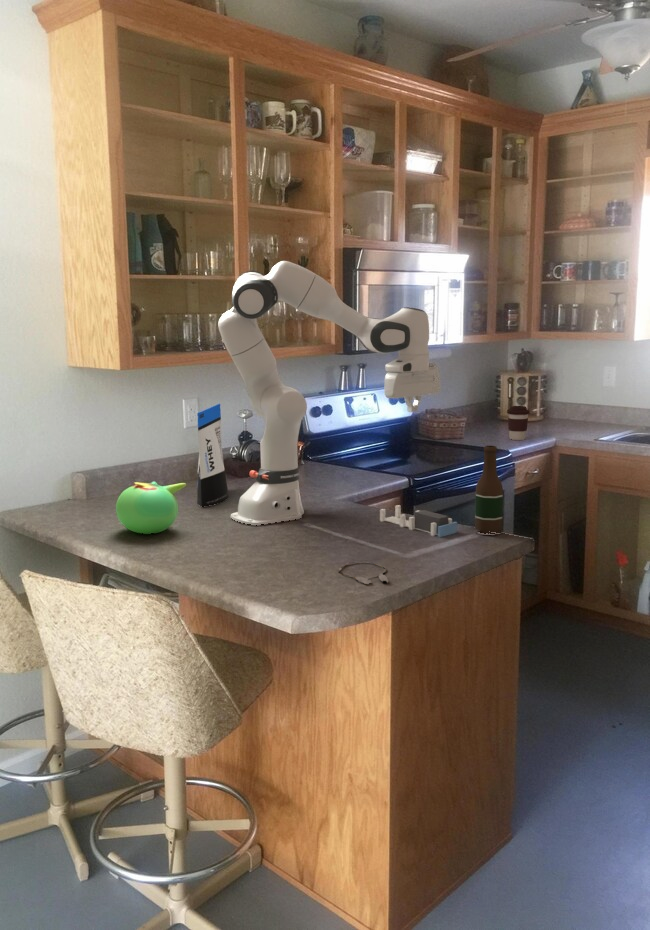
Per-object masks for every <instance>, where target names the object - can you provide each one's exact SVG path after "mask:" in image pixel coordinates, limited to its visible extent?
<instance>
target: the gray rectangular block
mask: <svg viewBox="0 0 650 930" xmlns="http://www.w3.org/2000/svg"><path fill="white" fill-rule="evenodd" d="M417 511H418V510H417ZM414 517H415V528H417V529H421V530H425V531H428V532H431V523H433V522H435V523H437V531H436V534H438V526H442V525H446V524H448V518H449V516H448V515H444V514H441V513H437V512H433V511H430V510H425V509H423V510H419V511H418V512H414ZM417 529H416V530H417ZM428 532H427V533H428Z"/></svg>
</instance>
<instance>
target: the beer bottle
mask: <svg viewBox="0 0 650 930" xmlns="http://www.w3.org/2000/svg"><path fill="white" fill-rule="evenodd" d="M497 447H498V446H497V445H496V446H495V445H485V446H483V451H484V457H483V466H482V467H483V469H482V473H481V476H480V477H479V478H478V480H477V483H476V486H475V502H474V505H475V508H474V512H475V514H474V525H475V526H474V529H475V530H476V531H477V530H478V531H477V532H480V533H484V534H486V533H488V534H489V533H490V534H495V533H491V532H496V533H501V534H502V532H503V507H504V506H503V505H504V504H503V503H504V487H503V484H502V481H501V479H500V477H499V476H498V470H497V466H498V465H497V451H498V448H497ZM489 531H490V532H489Z"/></svg>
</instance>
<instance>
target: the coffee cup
mask: <svg viewBox="0 0 650 930" xmlns="http://www.w3.org/2000/svg"><path fill="white" fill-rule="evenodd" d="M506 413H507V414H508V417H507V423H508V425H507V426H508V438H509V440H511V439H512V441H525V440H526V436H527V429H528V423H529V415H530V410H529V409H528V408H527V407H526V406H525V405H524V406H523V405H512V406H510V408H508V409H507V410H506ZM524 439H525V440H524Z"/></svg>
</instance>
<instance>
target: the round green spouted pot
mask: <svg viewBox="0 0 650 930" xmlns="http://www.w3.org/2000/svg"><path fill="white" fill-rule="evenodd" d="M133 483H134V484H135V485H131V486H129V487H127V488H126V489H124V490H123V491H122V492H121V493H120V495H119V496H118V499H117V500H116V503H115V513H116V517H117V518H118V521H119V522H120V524H121V525H123V526H124V528H126V529H128V530H130V531H131V532H134V533H137V534H142V533H143V535H152V534H151V533H154V534H158V533H160V532H163V531H166V530H167V529H169V528H170V527H171V526H172V525H173V524H174V523H175V521H176V519H177V517H178V513H179V504H178V501H177V498H176V497H175V495H174V494H175V493H177V492H178V491H180V490H181V489H183V488H185V487H187V483H185V482H180V483H175V484H169V485H163V486H162V485H159V484H158V483H157V482H156V481H151V482H149V483H148V482H133Z"/></svg>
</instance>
